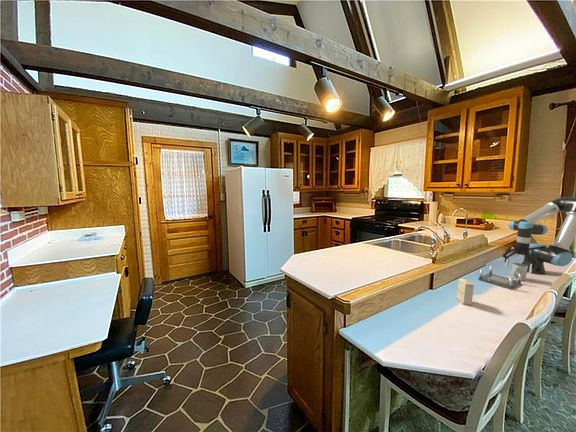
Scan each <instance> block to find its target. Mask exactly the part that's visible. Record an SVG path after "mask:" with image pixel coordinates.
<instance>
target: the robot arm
mask: <svg viewBox="0 0 576 432" xmlns="http://www.w3.org/2000/svg"><path fill="white" fill-rule="evenodd" d="M559 212H565V214H566V217H565V219H564V220H563V223H562V226H561V227H560V229H559V231H558V234H557V235H556V236H555V238H554V241H553V243H551V244H549V245H548V246H547V244H544V243H531V239H532V236H533V235H534V236H535V235H536V236H537V235H538V236H540V235H541V236H542V235H546V234H547V233H548V230H549V229H548V227H547V226H546V225H545V224H539V223H538V222H540V221H542V220H544V219H545V218H547V217H549V216H551V215H553V214H558V213H559ZM536 223H538V224H536ZM508 229H510V230H513V231H516V232H517V234H516V237H515V238H516V240H515V241H516V242H515V245H514V247H513V246H509V247H508V249H507V250H506V251H505V252H504V253H503V255H502V258H503V259H504V263H505V266H504V267H506V268H508V267H509V263H510V257H512V256H514V255H516V254H517V255H520V256H523V260H522V262H521V264H525V265H527V266H528V268H527V273H529V274H536V275H545V274H546V267H545V264H544V263H547V264H550V265H553V266H556V267H557V266H558V267H565V266H567V265H570V263H571V262H572V260H573V254H572V253H571V252H572V251H571V249H570V247H571V245H572V243H573V241H574V239H575V237H576V196H563V197H559V198H556V199H552V200H551V201H549V202H546V203H545V204H544V206H543V207H539V208H538V209H537V210H535V211H533V212H531V213H529V214H527V215H526V216H524V217H522V218H520V219H519V220H511V221H509V223H508ZM512 250H514V251H513V252H512V253H510V252H511V251H512ZM509 253H510V254H509Z"/></svg>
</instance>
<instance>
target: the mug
mask: <svg viewBox="0 0 576 432" xmlns="http://www.w3.org/2000/svg"><path fill="white" fill-rule="evenodd" d="M521 263H522V262H521ZM521 263H519V262H513V263H512V265H511V269H510V270H511V271H510V278H512V279H513V280H516V281H518V275H519V273H520V274H522V276H521V282H522V281H526V279H527V278H526V277H527V273H528V272H527V268H528V266H527V265H525V264H521Z"/></svg>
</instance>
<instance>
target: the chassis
mask: <svg viewBox="0 0 576 432" xmlns="http://www.w3.org/2000/svg"><path fill="white" fill-rule="evenodd" d="M483 274H484V269H483V270H482V269H480V270H479V277H478V278H477V279H478V281H482V282H484V283H488V284H492V285H495V286H497V287H502V288H504V289H507V290H512V289H515V288H516V287H518V286H520V285H521V284H522V281H521V276H522V274H520V273H519V275H518V280H516V279H513V278H511V277H510V278H509V277H504V276H501V275H498V274H493V266H492V265H490V266H489V272H488V273H486V274H484V275H483Z"/></svg>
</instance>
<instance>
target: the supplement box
mask: <svg viewBox="0 0 576 432" xmlns="http://www.w3.org/2000/svg"><path fill="white" fill-rule="evenodd" d="M457 284H458V286H457V294H456V295H457V296H456V299H457V300H458V301H459V302H460V303H461V304H462V305H465V306H466V305H467V306H472V303H473V295H474V290H475V289H474V288H475V284H474V283H472V281H470V280H469V279H467V278H466V279H465V278H459V280H458V283H457Z"/></svg>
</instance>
